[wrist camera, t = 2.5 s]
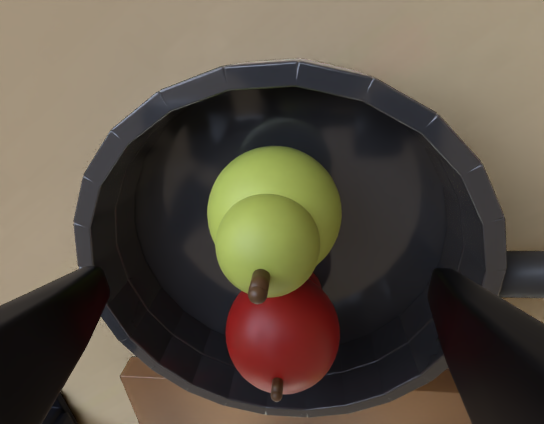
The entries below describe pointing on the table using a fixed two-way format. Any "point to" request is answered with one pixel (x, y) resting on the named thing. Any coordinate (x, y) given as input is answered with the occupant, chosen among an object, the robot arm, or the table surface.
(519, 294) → the pan handle
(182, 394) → the cutting board
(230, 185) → the pear
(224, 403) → the pan
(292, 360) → the apple
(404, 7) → the table surface
